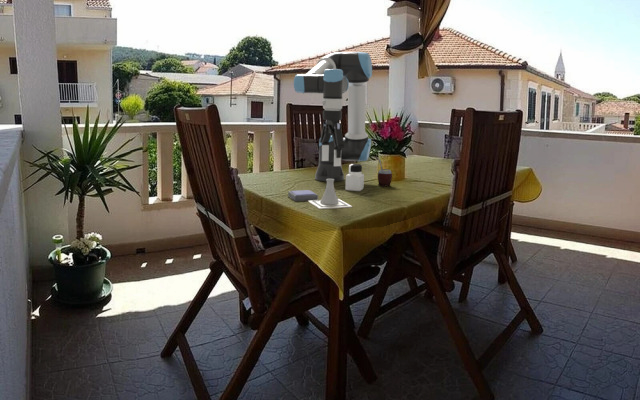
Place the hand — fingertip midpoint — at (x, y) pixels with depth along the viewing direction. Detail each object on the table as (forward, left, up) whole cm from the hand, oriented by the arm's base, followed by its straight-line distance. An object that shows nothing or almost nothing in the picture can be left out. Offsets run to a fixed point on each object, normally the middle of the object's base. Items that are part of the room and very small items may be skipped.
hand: (331, 163), depth 197 cm
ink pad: (+7, -14, -17) cm, 23 cm away
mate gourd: (-41, -32, -17) cm, 54 cm away
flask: (0, 0, -17) cm, 17 cm away
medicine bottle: (-23, -27, -17) cm, 39 cm away
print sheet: (0, 0, -17) cm, 17 cm away
